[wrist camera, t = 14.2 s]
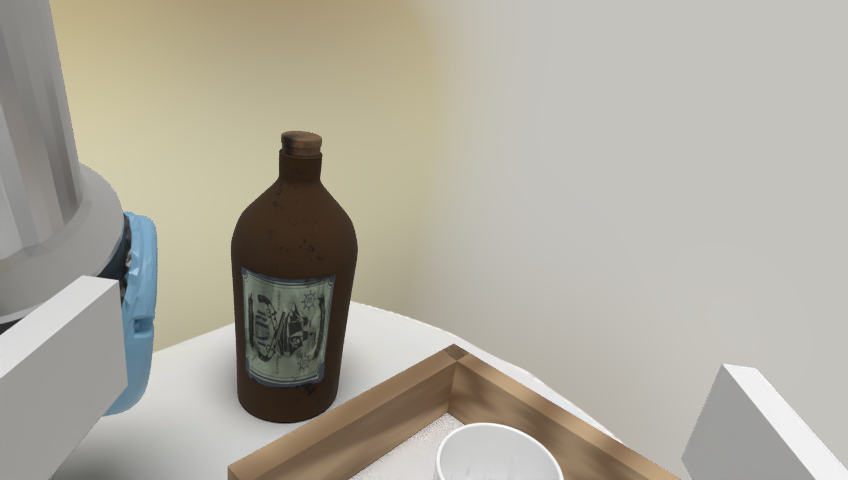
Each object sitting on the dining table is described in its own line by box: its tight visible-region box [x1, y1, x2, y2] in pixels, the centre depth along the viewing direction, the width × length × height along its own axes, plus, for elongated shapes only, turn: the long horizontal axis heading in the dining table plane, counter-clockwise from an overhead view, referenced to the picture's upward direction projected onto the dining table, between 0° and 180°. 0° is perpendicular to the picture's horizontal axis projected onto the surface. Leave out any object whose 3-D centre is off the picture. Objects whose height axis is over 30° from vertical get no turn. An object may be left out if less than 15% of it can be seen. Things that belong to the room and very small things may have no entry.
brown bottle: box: [231, 131, 358, 422], centre depth 48 cm, size 11×11×25 cm
